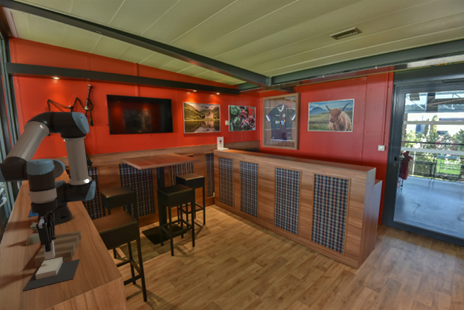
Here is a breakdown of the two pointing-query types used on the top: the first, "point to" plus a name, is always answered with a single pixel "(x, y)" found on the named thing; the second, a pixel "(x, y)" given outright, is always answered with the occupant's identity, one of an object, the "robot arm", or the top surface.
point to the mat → (63, 275)
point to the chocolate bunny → (33, 235)
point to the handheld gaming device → (33, 214)
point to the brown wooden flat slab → (61, 247)
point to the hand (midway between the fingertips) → (50, 257)
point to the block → (49, 268)
